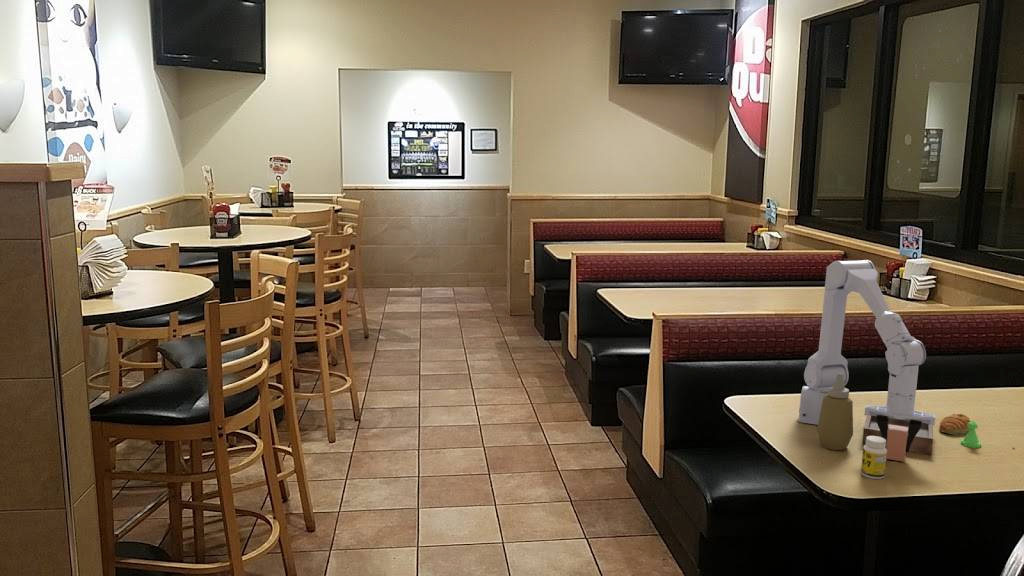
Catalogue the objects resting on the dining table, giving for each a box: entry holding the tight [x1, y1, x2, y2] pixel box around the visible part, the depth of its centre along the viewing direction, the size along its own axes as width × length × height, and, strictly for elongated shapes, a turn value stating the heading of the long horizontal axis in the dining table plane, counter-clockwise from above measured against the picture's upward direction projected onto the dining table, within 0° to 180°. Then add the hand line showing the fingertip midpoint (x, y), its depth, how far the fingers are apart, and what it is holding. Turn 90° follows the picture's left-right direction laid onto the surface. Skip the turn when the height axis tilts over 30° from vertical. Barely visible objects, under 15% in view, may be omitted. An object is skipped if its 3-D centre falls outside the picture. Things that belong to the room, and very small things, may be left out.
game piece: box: [960, 420, 982, 449], centre depth 198 cm, size 4×4×6 cm
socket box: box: [861, 415, 934, 456], centre depth 201 cm, size 15×15×4 cm
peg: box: [886, 424, 908, 463], centre depth 188 cm, size 4×4×7 cm
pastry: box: [938, 413, 972, 436], centre depth 208 cm, size 9×7×4 cm
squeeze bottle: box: [816, 373, 854, 451], centre depth 194 cm, size 8×8×18 cm
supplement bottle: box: [860, 436, 887, 480], centre depth 178 cm, size 5×5×8 cm
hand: (895, 449), depth 188 cm, fingers closed on peg, 4 cm apart
